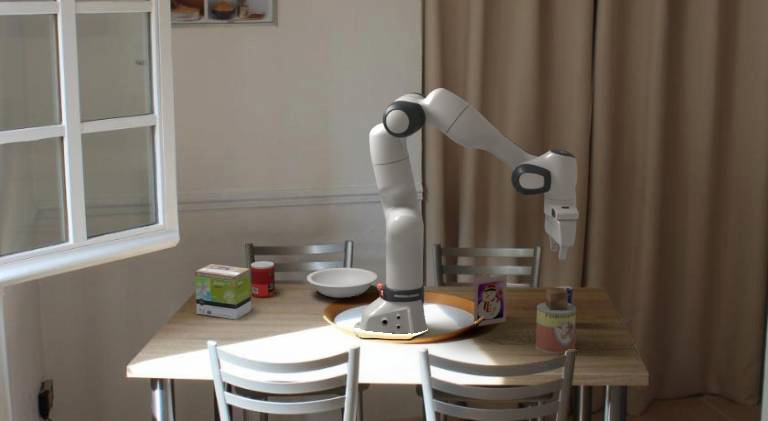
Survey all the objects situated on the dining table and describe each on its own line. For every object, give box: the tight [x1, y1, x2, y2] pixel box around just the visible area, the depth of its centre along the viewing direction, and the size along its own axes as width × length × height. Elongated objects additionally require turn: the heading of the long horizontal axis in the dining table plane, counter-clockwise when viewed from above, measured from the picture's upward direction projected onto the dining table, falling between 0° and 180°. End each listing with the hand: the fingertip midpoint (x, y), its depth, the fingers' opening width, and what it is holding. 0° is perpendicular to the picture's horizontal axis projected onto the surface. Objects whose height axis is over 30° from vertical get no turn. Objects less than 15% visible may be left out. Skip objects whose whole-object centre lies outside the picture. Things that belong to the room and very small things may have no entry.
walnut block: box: [545, 287, 568, 310], centre depth 296 cm, size 5×5×5 cm
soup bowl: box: [306, 267, 378, 299], centre depth 350 cm, size 24×24×7 cm
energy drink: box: [555, 285, 573, 305], centre depth 317 cm, size 5×5×12 cm
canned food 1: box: [250, 260, 276, 299], centre depth 350 cm, size 8×8×11 cm
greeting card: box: [473, 271, 508, 327], centre depth 321 cm, size 11×7×15 cm, turn 115°
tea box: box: [194, 263, 252, 321], centre depth 331 cm, size 15×10×15 cm, turn 68°
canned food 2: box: [535, 301, 577, 354], centre depth 298 cm, size 11×11×12 cm
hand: (558, 255), depth 293 cm, fingers open, 8 cm apart
